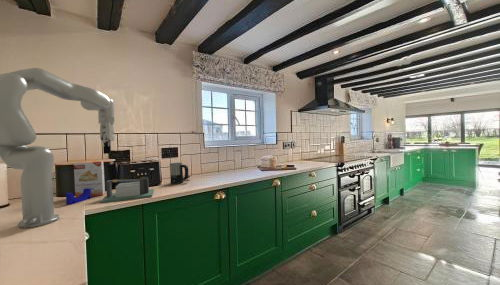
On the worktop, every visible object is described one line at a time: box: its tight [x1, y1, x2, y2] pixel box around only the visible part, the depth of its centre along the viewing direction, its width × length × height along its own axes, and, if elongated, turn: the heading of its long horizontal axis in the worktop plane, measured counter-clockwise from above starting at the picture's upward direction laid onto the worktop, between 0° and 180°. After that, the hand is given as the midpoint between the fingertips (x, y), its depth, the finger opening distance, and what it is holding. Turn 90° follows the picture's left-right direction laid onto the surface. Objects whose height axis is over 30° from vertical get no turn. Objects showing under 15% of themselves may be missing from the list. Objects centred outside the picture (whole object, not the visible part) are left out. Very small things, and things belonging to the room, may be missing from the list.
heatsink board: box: [100, 176, 154, 204], centre depth 133 cm, size 18×25×10 cm
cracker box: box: [73, 160, 106, 198], centre depth 137 cm, size 14×6×21 cm, turn 112°
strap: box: [112, 178, 141, 183], centre depth 133 cm, size 16×3×1 cm, turn 110°
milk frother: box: [169, 162, 191, 185], centre depth 173 cm, size 14×16×15 cm
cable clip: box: [65, 188, 92, 206], centre depth 126 cm, size 12×4×6 cm, turn 170°
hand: (107, 153), depth 127 cm, fingers closed
